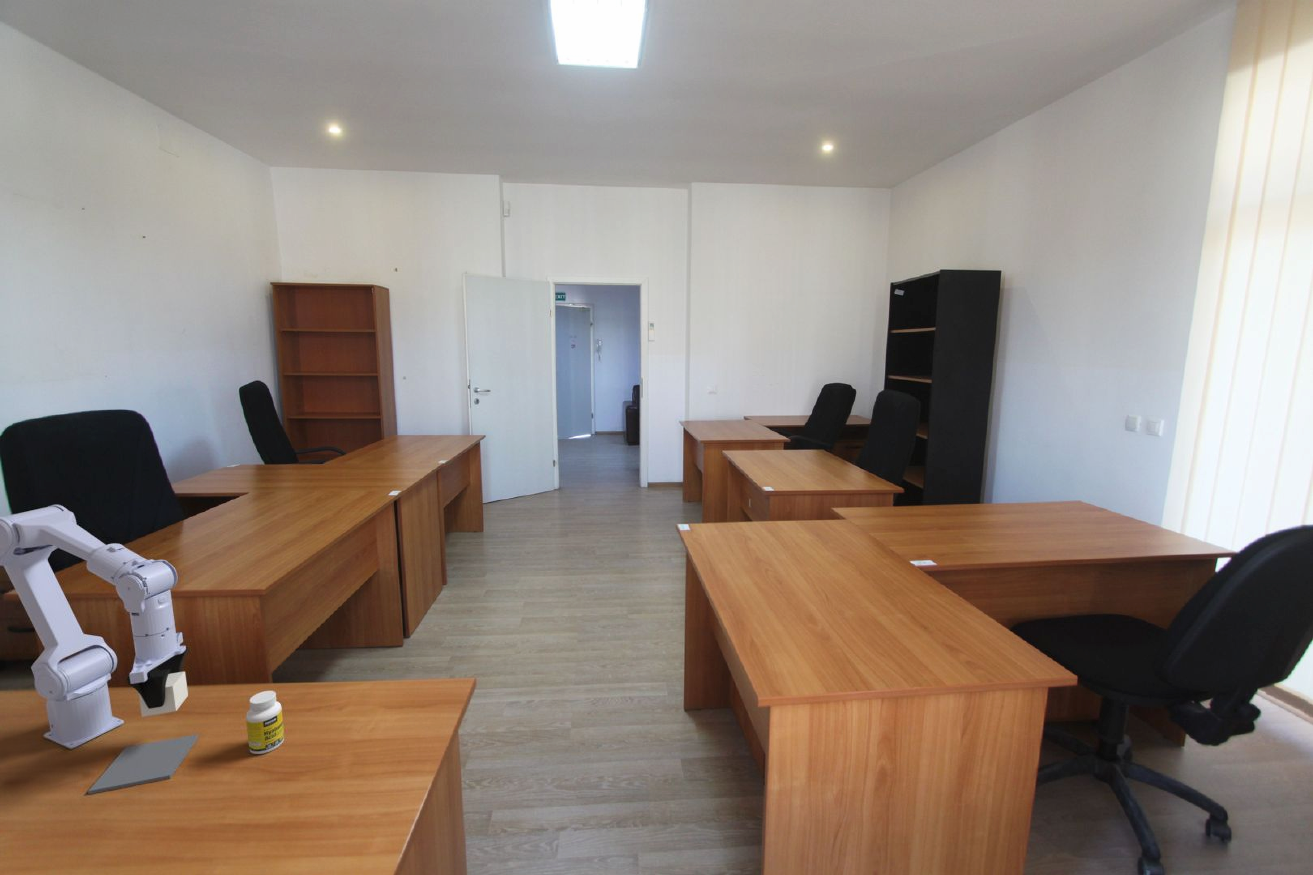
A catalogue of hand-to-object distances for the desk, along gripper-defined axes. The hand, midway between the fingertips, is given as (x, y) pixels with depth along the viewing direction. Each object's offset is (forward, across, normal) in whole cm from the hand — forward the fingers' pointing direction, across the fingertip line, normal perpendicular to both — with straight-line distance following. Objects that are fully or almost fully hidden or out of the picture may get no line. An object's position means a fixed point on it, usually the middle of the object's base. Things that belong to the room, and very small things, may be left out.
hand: (163, 697), depth 103 cm
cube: (+2, 0, 0) cm, 2 cm away
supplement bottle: (+9, -7, -18) cm, 21 cm away
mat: (+9, -6, +1) cm, 11 cm away
